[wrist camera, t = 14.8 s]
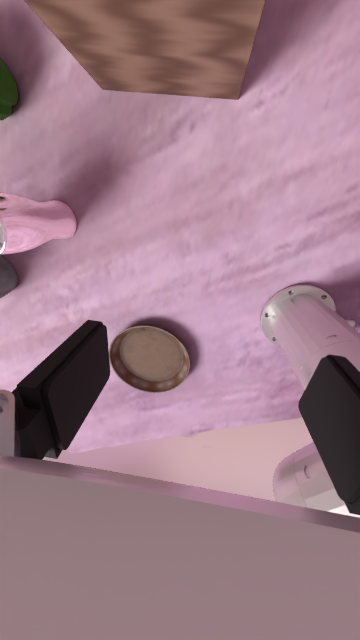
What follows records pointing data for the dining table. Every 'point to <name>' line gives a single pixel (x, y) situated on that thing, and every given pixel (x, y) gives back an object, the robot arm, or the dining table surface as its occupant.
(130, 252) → the dining table surface
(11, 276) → the bottle
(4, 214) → the beer glass
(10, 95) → the bell pepper
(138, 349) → the plant saucer
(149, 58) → the backboard
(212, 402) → the dining table surface
